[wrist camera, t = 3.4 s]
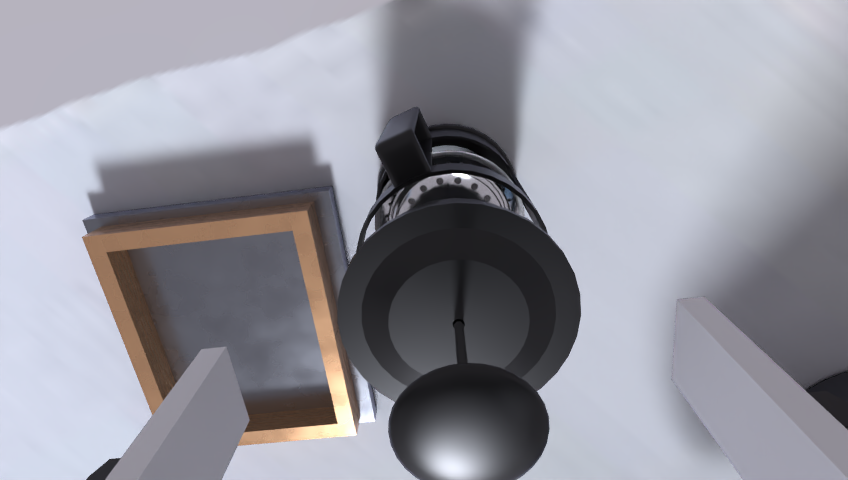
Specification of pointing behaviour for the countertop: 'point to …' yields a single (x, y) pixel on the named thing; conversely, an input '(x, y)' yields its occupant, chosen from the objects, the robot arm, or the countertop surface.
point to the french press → (457, 305)
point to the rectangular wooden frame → (238, 305)
